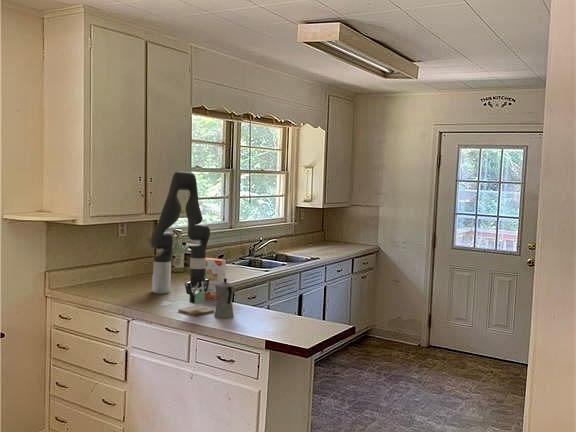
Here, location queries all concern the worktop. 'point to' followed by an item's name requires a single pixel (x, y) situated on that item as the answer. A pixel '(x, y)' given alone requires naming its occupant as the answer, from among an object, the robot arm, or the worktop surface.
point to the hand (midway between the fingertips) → (196, 301)
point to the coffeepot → (224, 300)
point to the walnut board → (196, 311)
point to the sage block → (198, 297)
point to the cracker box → (214, 275)
